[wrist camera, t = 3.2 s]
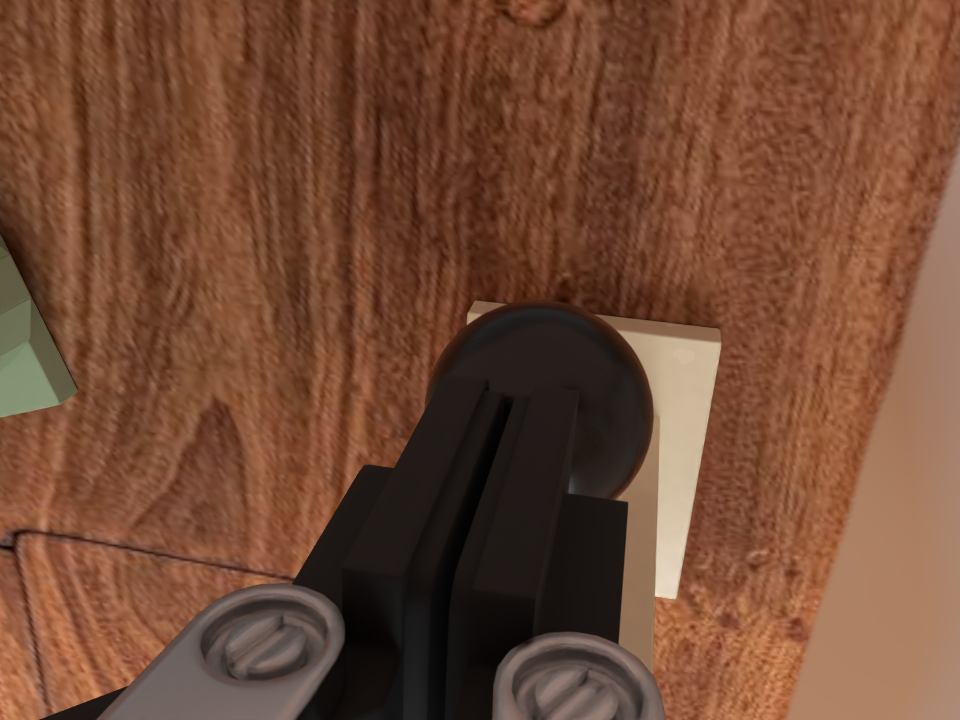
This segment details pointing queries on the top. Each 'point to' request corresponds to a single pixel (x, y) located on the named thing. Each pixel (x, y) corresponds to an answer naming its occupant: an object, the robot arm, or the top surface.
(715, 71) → the top surface
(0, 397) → the button box
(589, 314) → the lever
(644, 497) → the switch bracket
